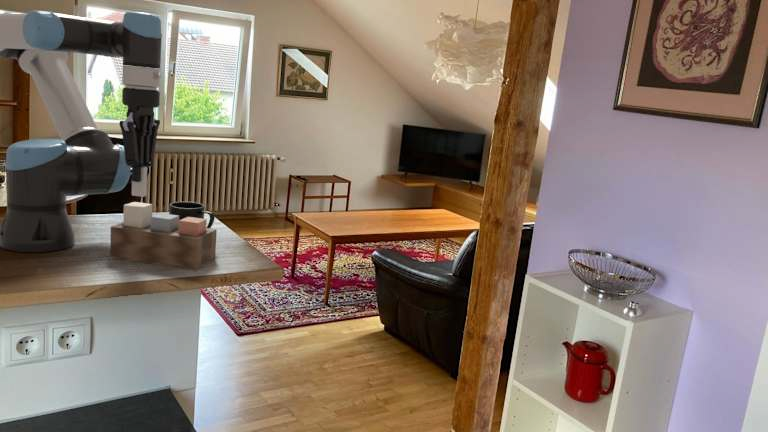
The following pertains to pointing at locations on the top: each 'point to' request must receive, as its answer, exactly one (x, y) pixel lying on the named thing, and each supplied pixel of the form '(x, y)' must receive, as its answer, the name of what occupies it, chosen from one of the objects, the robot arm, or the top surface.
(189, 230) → the terracotta key
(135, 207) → the ivory key
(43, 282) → the top surface
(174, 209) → the mug
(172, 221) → the slate key
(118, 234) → the brown wooden block
